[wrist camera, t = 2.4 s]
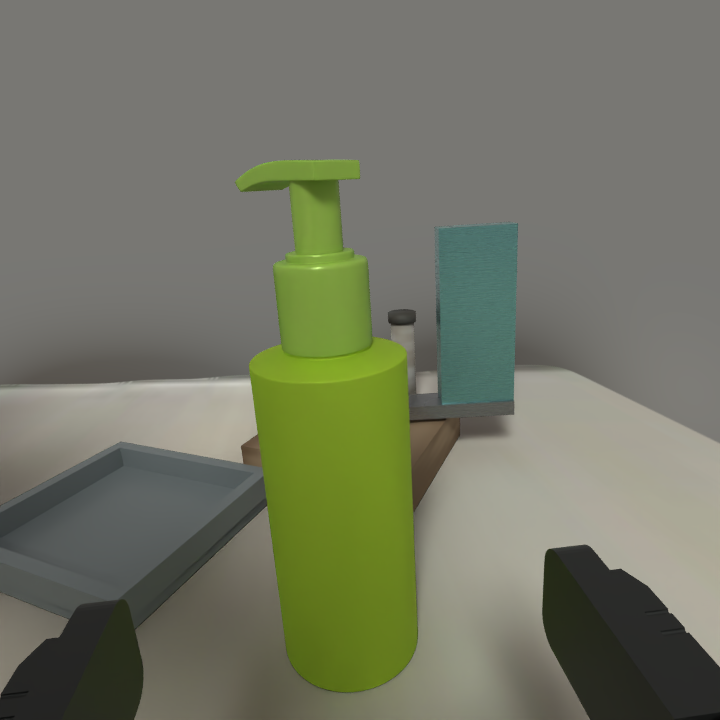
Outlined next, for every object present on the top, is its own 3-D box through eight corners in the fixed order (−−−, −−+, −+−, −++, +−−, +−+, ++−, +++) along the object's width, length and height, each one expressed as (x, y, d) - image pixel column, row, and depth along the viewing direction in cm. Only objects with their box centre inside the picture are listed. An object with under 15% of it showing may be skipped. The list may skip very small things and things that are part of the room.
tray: (-52, 571, 30) (-63, 539, 29) (126, 466, 41) (120, 441, 40) (122, 640, 24) (113, 602, 23) (275, 497, 35) (271, 469, 34)
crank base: (246, 484, 37) (229, 364, 34) (354, 395, 52) (347, 307, 49) (410, 518, 32) (404, 380, 29) (475, 408, 47) (475, 311, 44)
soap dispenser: (348, 561, 28) (315, 166, 22) (445, 636, 23) (436, 149, 17) (250, 619, 25) (181, 169, 19) (339, 722, 20) (283, 148, 14)
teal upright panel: (328, 430, 37) (311, 237, 33) (331, 408, 40) (316, 233, 37) (517, 420, 36) (522, 224, 32) (502, 398, 40) (505, 221, 36)
